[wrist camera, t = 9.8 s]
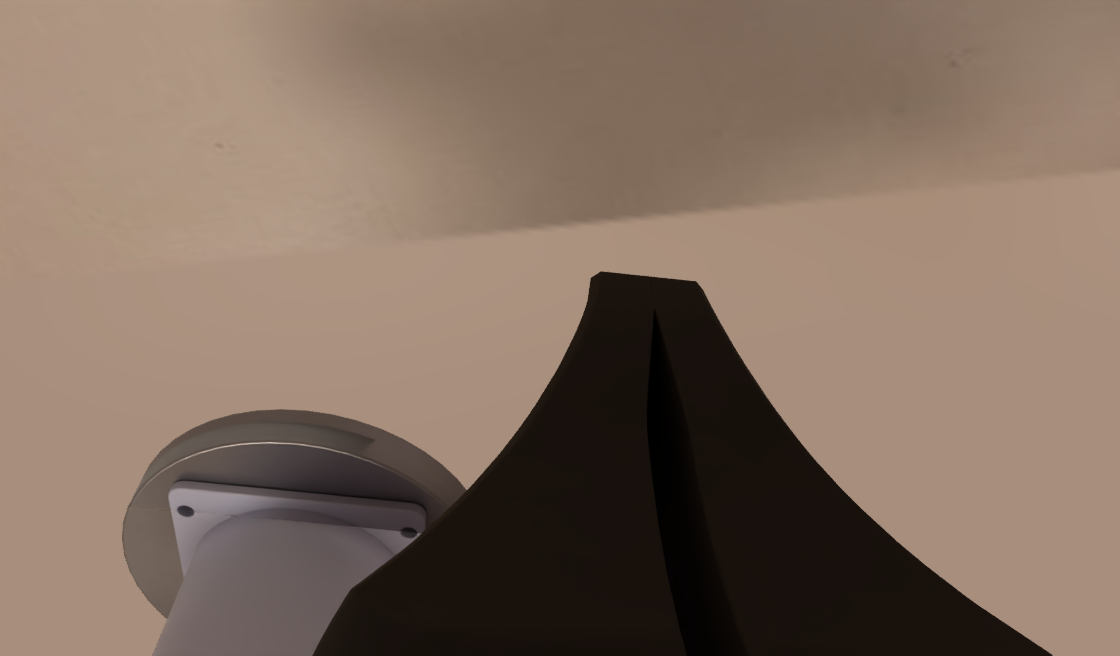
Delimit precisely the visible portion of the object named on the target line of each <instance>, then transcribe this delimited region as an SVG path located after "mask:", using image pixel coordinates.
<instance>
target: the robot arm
mask: <svg viewBox="0 0 1120 656" xmlns="http://www.w3.org/2000/svg"><path fill="white" fill-rule="evenodd" d="M168 499H169V504H170V509H171V515H172V520H173V525H174V530H175V535H176V541H177V546H178V551H179V556H180V561H181V567H182V572H183V577H184V580H183V582H182V585H181V587H180V589H179V592H178V594H177V597H176V599H175V602H174V604H173V606H172V609H171V611H170V614H169V616H168V618H167V621H166V623H165V626H164V628H163V631H162V633H161V635H160V638H159V640H158V643H157V645H156V647H155V650H154V652H153V655H152V656H1052V654H1050V653H1049V652H1047V651H1046V650H1044V649H1043V648H1041V647H1040V646H1038V645H1037V644H1035V643H1034V642H1032V641H1031V640H1029V639H1028V638H1026V637H1025V636H1023V635H1022V634H1020V633H1019V632H1017V631H1016V630H1014V629H1013V628H1011V627H1010V626H1008V625H1007V624H1005V623H1004V622H1002V621H1001V620H999V619H998V618H996V617H995V616H993V615H992V614H990V613H989V612H987V611H986V610H984V609H983V608H981V607H980V606H978V605H977V604H976V603H974V602H973V601H971V600H970V599H969V598H967V597H966V596H965V595H963V594H962V593H961V592H959V591H958V590H957V589H955V588H954V587H953V586H952V585H950V584H949V583H948V582H946V581H945V580H944V579H943V578H941V577H940V576H938V575H937V574H936V573H935V572H933V571H932V570H931V569H930V568H928V567H927V566H926V565H924V564H923V563H922V562H921V561H920V560H918V559H917V558H916V557H915V556H914V555H912V554H911V553H910V552H909V551H908V550H906V549H905V548H904V547H903V546H902V545H901V544H899V543H898V542H897V541H896V540H895V539H894V538H893V537H892V536H890V535H889V534H888V533H887V532H886V531H885V530H884V529H883V528H882V527H881V526H880V525H878V524H877V523H876V522H875V521H874V520H873V519H872V518H871V517H870V516H869V515H867V514H866V513H865V512H864V511H863V510H862V509H861V508H860V507H859V506H858V505H857V504H856V503H855V502H854V501H853V500H852V499H851V498H850V497H849V496H848V495H847V494H846V493H845V492H844V491H843V490H842V489H841V488H840V487H839V486H838V485H837V484H836V482H834V480H833V479H832V478H831V477H830V476H829V475H828V474H827V473H826V472H825V471H824V469H823V468H822V467H821V466H820V465H819V464H818V463H817V462H816V461H815V460H814V458H813V457H812V456H811V455H810V454H809V452H808V451H807V450H806V449H805V447H804V446H803V445H802V444H801V442H800V441H799V440H798V439H797V437H796V436H795V435H794V434H793V432H792V431H791V430H790V428H789V427H788V426H787V424H786V423H785V422H784V420H783V419H782V418H781V416H780V415H779V414H778V412H777V411H776V410H775V408H774V407H773V405H772V404H771V403H770V401H769V400H768V398H767V397H766V395H765V394H764V392H763V391H762V390H761V388H760V386H759V385H758V383H757V382H756V380H755V379H754V377H753V376H752V374H751V373H750V371H749V370H748V368H747V367H746V365H745V364H744V362H743V360H742V359H741V357H740V356H739V354H738V352H737V351H736V349H735V347H734V346H733V344H732V342H731V341H730V339H729V337H728V335H727V334H726V332H725V330H724V329H723V327H722V325H721V323H720V321H719V320H718V318H717V316H716V314H715V313H714V310H713V309H712V307H711V305H710V303H709V301H708V299H707V297H706V295H705V293H704V291H703V289H702V288H701V287H700V286H699V284H698V283H697V282H696V281H686V280H676V279H667V278H658V277H649V276H639V275H630V274H620V273H611V272H599V273H598V274H596V275H595V276H593V277H592V278H591V281H590V288H589V295H588V301H587V305H586V308H585V311H584V314H583V316H582V319H581V321H580V324H579V326H578V329H577V331H576V333H575V335H574V338H573V339H572V341H571V343H570V346H569V347H568V350H567V352H566V353H565V355H564V357H563V360H562V361H561V364H560V365H559V367H558V369H557V371H556V373H555V374H554V376H553V377H552V379H551V381H550V382H549V384H548V385H547V387H546V389H545V391H544V392H543V394H542V395H541V397H540V399H539V400H538V402H537V403H536V405H535V407H534V408H533V409H532V411H531V412H530V414H529V415H528V417H527V418H526V420H525V421H524V422H523V424H522V425H521V427H520V428H519V429H518V431H517V432H516V433H515V435H514V436H513V437H512V439H511V440H510V441H509V442H508V444H507V445H506V446H505V448H504V449H503V450H502V451H501V453H500V454H499V455H498V456H497V458H495V460H494V461H493V462H492V463H491V464H490V466H489V467H488V468H487V469H486V470H485V471H484V472H483V473H482V475H481V476H480V477H479V478H478V479H477V480H476V481H475V483H474V484H473V485H472V486H471V487H470V488H469V489H468V490H467V491H466V492H465V493H464V494H463V495H462V496H461V497H460V498H459V499H458V500H457V501H456V502H455V503H454V504H453V505H452V506H451V507H450V508H449V509H448V510H447V511H445V512H444V513H443V514H442V515H441V516H440V517H439V518H438V519H437V520H436V521H435V522H434V523H432V524H431V525H430V526H429V527H428V528H427V529H426V518H427V515H426V511H425V510H424V509H423V508H422V507H421V506H419V505H417V504H414V503H408V502H398V501H388V500H377V499H367V498H357V497H347V496H336V495H326V494H316V493H306V492H295V491H285V490H275V489H265V488H254V487H244V486H234V485H224V484H213V483H203V482H193V481H179V482H176V483H174V485H173V486H172V487H171V489H170V492H169V495H168ZM187 506H189V507H187ZM190 507H191V508H190ZM406 527H410V528H413V529H409V528H406Z"/></svg>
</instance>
